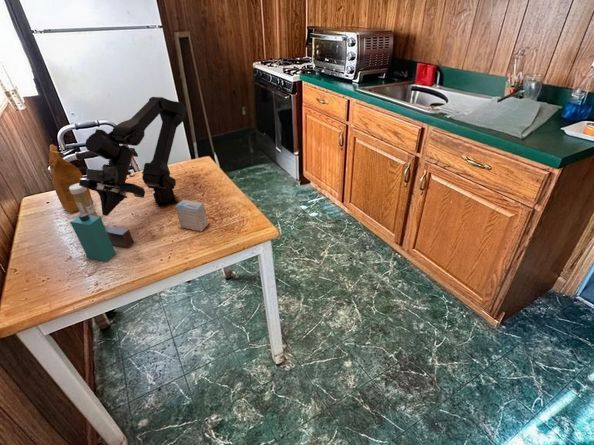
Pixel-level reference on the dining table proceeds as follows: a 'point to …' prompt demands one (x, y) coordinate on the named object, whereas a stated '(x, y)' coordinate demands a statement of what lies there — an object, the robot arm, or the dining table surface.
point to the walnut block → (119, 236)
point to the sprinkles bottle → (82, 199)
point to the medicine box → (192, 215)
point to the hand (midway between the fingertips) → (104, 215)
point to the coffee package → (64, 179)
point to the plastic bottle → (93, 237)
